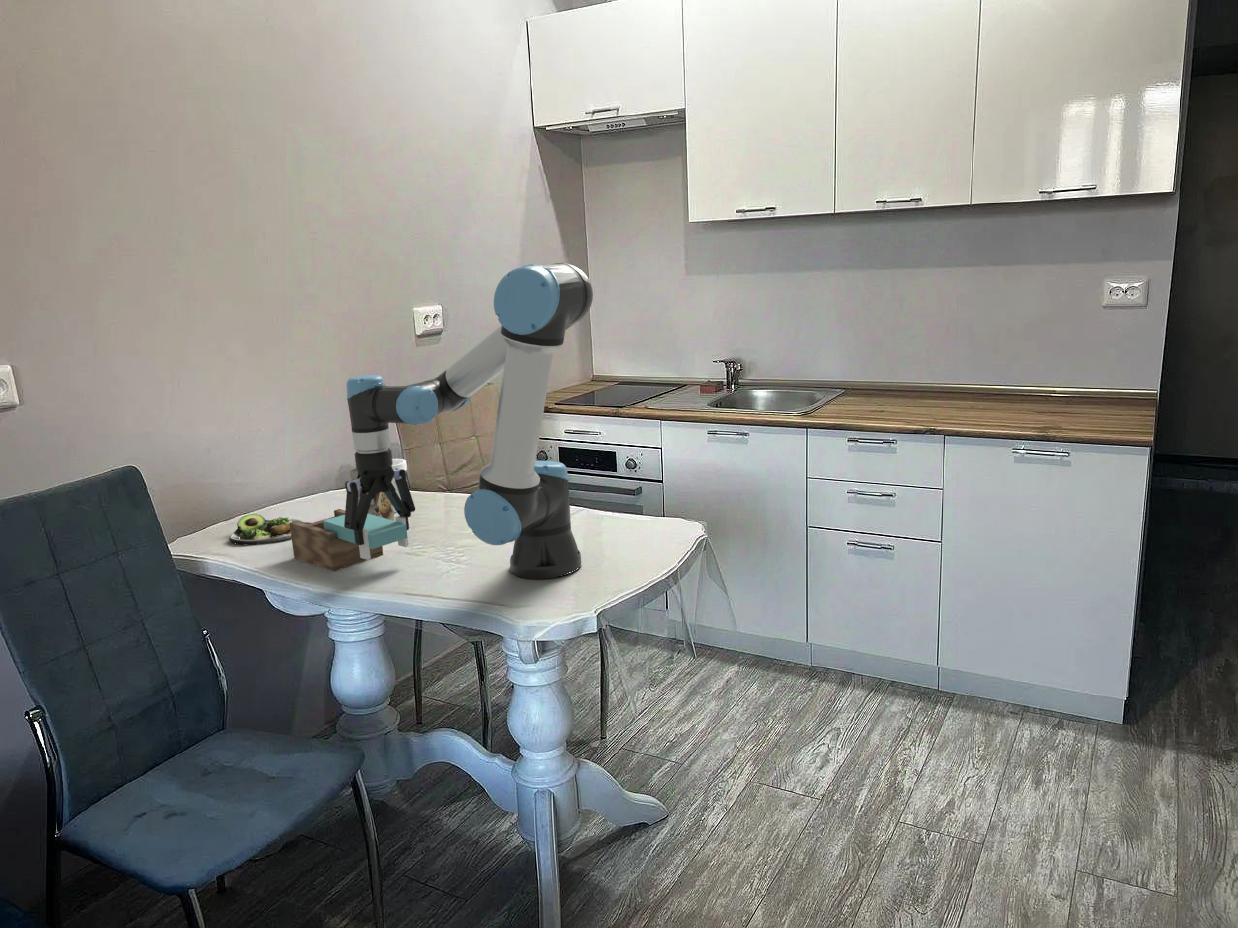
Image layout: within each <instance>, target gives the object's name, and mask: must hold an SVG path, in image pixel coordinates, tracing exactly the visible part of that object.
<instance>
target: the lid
mask: <svg viewBox="0 0 1238 928" xmlns="http://www.w3.org/2000/svg"><path fill="white" fill-rule="evenodd" d="M333 517H334V518H331V517H330V518H331V519H328V518H326V519H327V520H324V519H323V520H324V521H323V524H324V529H325V530H329V531H332V532H335V537H337V538H340V539H343V540H346V541H349V542H352V543H355V536H354V530H352V529H348V528H345V527H344V522H345V515H342V516H338V517H335V516H333ZM364 529H367V531H368V540H369V548H370V549H374V548H378V547H381V546H382V547H384V546H387V545H390V544H393V543H396V542H398V541H399V540H403V539H406V538H408V539H409V537H408V530H407V526H406V524H402V523H399V522H396V521H392V520H388V519H385V518H381V517H378V516H374V515H371V514H367V518H366V521H365V525H364ZM355 544H356V543H355Z"/></svg>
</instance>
